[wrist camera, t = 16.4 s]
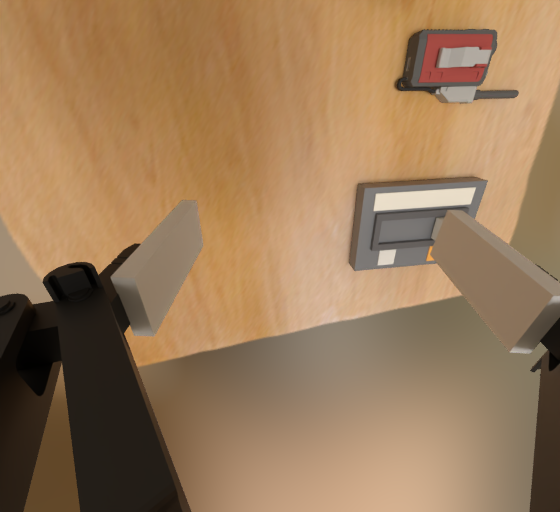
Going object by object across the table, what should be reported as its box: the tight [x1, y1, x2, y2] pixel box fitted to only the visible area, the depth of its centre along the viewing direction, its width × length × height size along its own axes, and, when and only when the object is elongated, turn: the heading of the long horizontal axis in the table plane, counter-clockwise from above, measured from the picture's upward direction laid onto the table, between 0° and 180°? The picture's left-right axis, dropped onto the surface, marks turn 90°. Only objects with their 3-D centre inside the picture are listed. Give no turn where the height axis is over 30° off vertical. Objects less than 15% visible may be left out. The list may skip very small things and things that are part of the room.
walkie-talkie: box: [397, 29, 519, 104], centre depth 38 cm, size 9×4×20 cm
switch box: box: [349, 177, 488, 271], centre depth 49 cm, size 16×22×4 cm
